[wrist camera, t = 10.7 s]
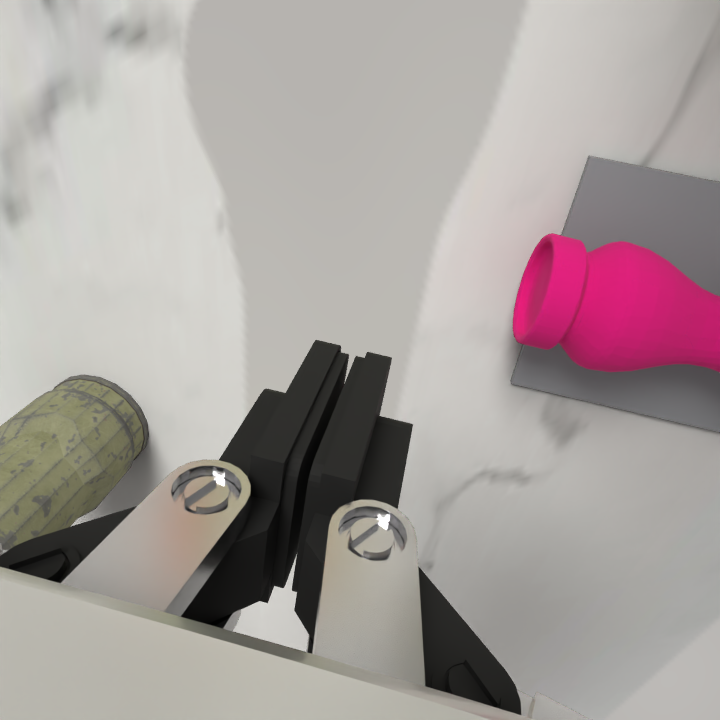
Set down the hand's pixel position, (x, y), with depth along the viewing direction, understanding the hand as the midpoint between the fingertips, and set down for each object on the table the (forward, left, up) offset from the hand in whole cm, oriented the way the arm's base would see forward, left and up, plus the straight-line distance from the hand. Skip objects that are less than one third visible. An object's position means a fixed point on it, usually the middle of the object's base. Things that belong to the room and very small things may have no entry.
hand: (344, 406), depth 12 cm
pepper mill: (+3, +7, -21) cm, 22 cm away
